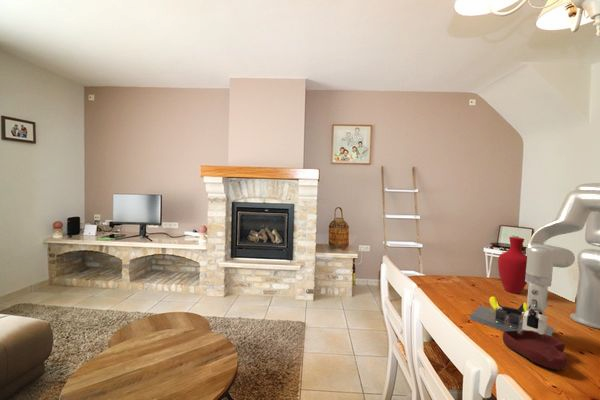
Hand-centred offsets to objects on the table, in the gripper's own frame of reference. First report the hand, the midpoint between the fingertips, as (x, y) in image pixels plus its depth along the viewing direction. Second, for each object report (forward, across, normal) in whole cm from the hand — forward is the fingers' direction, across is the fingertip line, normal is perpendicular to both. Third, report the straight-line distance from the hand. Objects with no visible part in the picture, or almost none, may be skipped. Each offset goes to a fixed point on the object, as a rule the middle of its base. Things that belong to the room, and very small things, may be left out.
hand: (534, 323), depth 105 cm
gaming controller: (+5, +15, +10) cm, 18 cm away
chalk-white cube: (+3, 0, 0) cm, 3 cm away
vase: (+5, +51, +16) cm, 54 cm away
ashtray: (+5, -16, -2) cm, 17 cm away
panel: (+5, +2, +8) cm, 9 cm away
